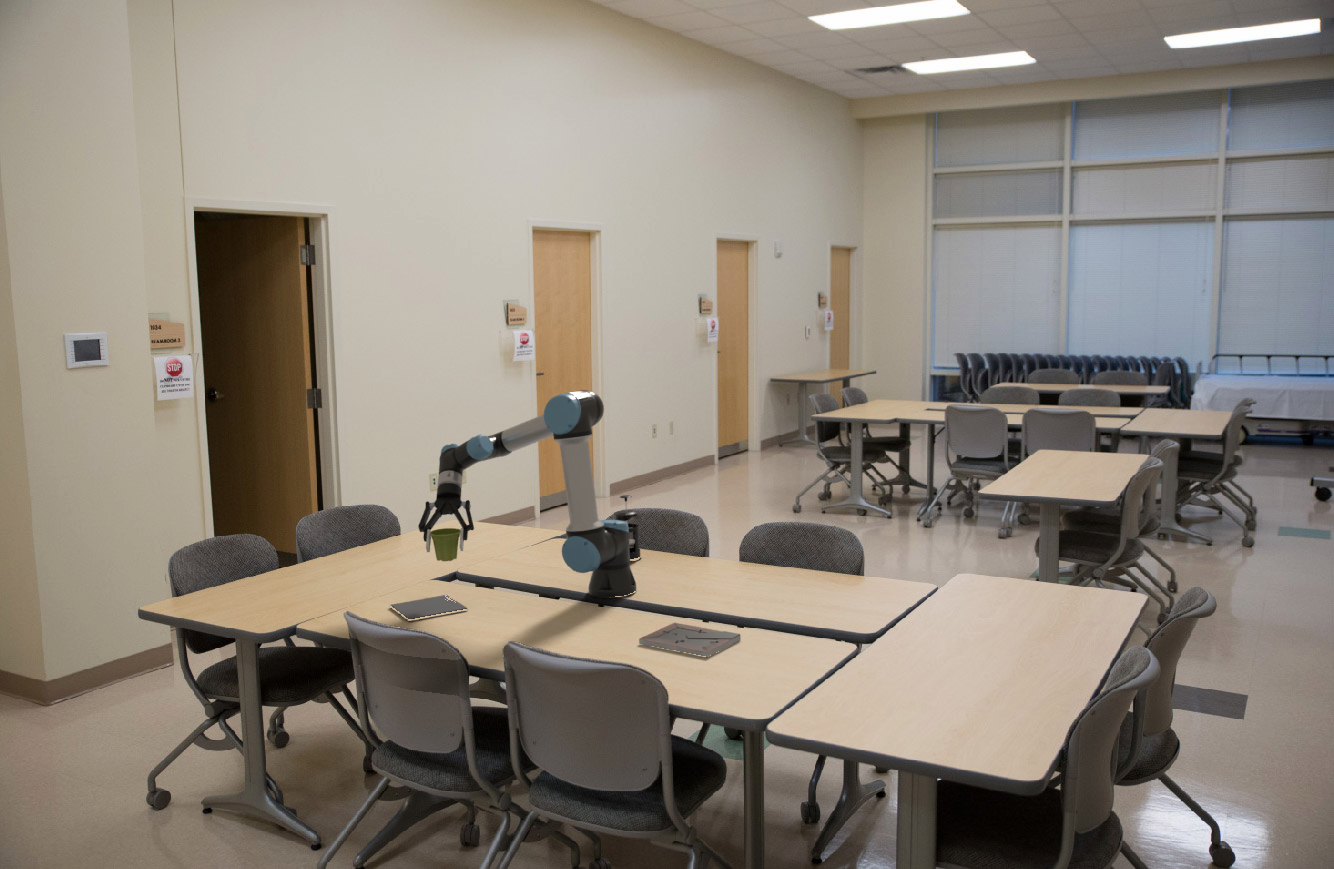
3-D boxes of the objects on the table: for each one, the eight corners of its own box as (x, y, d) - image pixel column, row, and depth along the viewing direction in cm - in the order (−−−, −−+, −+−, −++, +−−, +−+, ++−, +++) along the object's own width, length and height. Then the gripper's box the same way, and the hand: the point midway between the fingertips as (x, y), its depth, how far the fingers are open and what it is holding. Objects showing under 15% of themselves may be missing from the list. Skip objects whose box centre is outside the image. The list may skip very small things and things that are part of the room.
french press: (648, 558, 374) (645, 494, 371) (630, 563, 366) (628, 499, 363) (623, 554, 381) (620, 492, 378) (605, 559, 374) (603, 496, 371)
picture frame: (740, 642, 280) (674, 630, 293) (740, 633, 280) (674, 621, 293) (707, 660, 267) (639, 647, 280) (706, 651, 267) (639, 637, 279)
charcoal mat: (467, 611, 315) (467, 607, 315) (408, 622, 306) (408, 618, 306) (446, 597, 331) (446, 594, 330) (390, 607, 321) (390, 604, 321)
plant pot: (464, 561, 318) (463, 533, 317) (433, 564, 315) (431, 536, 314) (459, 554, 327) (458, 527, 326) (429, 557, 324) (427, 530, 322)
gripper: (412, 482, 327) (405, 544, 313) (483, 480, 328) (479, 541, 315) (416, 496, 333) (409, 557, 319) (485, 493, 334) (482, 554, 321)
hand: (444, 549), depth 317 cm, fingers closed on plant pot, 9 cm apart
